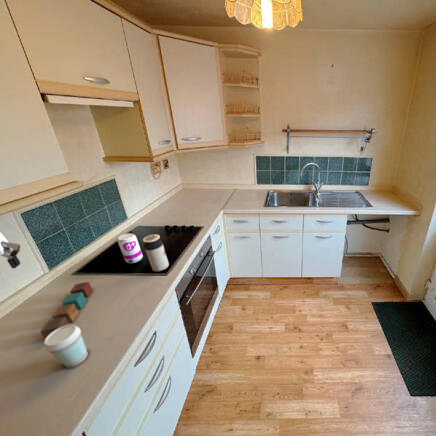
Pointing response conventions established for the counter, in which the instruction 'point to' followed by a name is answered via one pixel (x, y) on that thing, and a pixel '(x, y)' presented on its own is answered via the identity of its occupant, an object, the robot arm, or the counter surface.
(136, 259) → the supplement can
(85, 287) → the dark cherry block
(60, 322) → the walnut block
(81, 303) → the teal block
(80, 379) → the counter surface
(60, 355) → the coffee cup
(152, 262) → the travel mug
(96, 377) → the counter surface
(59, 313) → the oak block
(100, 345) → the counter surface
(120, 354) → the counter surface
